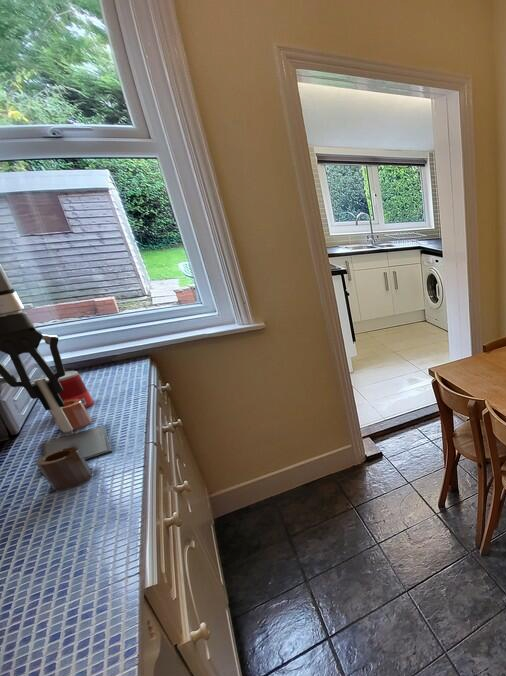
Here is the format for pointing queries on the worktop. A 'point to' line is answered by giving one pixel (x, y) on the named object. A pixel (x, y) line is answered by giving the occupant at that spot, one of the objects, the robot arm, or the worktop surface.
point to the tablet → (82, 443)
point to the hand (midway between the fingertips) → (55, 406)
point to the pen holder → (74, 414)
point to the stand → (64, 468)
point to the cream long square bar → (54, 406)
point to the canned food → (74, 388)
